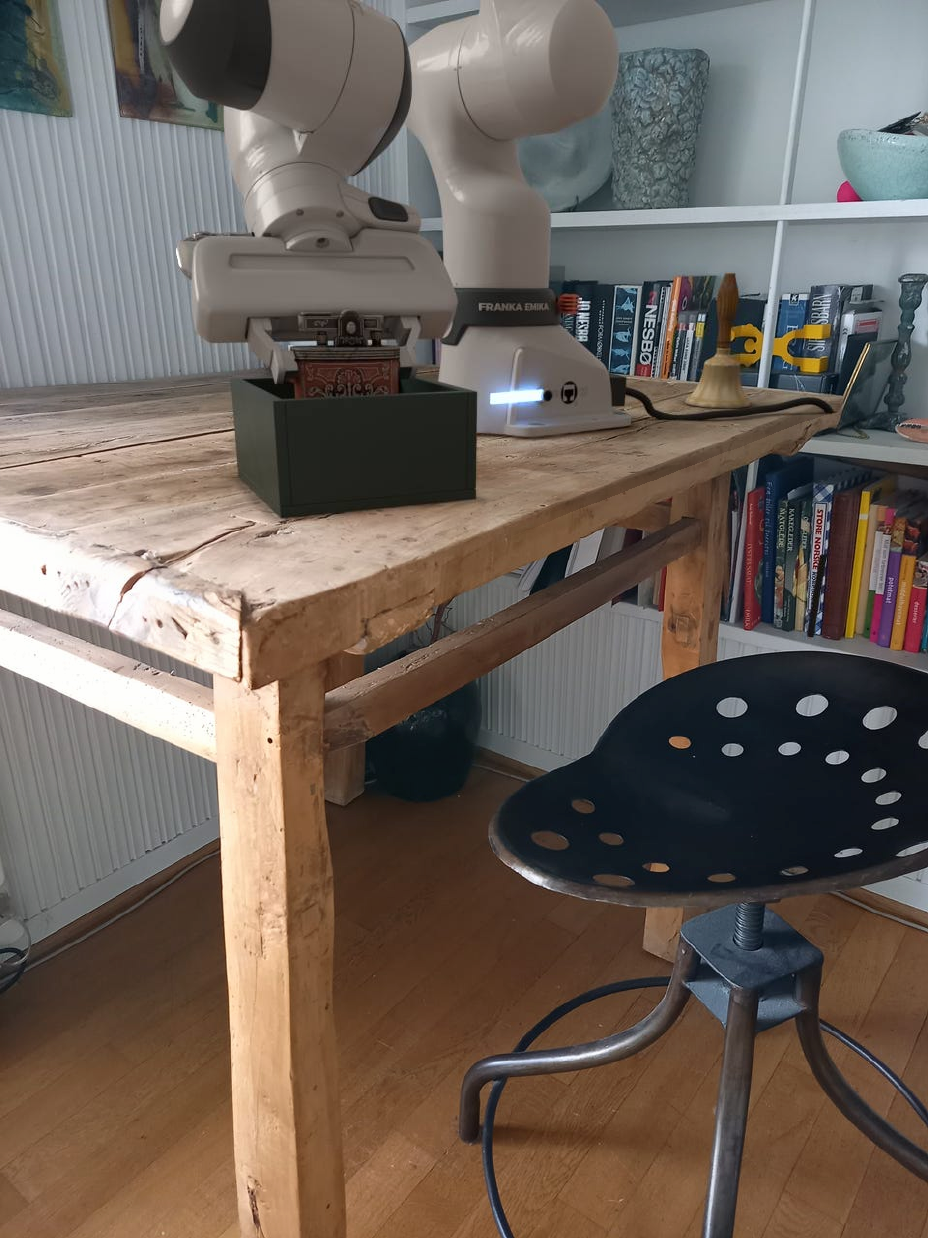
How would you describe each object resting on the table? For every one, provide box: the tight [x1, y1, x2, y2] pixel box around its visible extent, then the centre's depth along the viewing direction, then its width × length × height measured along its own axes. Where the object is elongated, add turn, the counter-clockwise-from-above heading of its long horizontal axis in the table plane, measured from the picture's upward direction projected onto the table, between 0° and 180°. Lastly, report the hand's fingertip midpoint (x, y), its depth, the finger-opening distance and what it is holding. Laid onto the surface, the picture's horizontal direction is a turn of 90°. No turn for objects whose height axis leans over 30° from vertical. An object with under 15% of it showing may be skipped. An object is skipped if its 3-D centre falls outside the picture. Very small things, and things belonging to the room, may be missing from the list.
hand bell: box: [684, 272, 752, 409], centre depth 115 cm, size 8×8×16 cm
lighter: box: [289, 310, 401, 399], centre depth 67 cm, size 8×3×10 cm, turn 103°
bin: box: [229, 374, 478, 519], centre depth 69 cm, size 15×15×8 cm
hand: (349, 376), depth 66 cm, fingers closed on lighter, 8 cm apart
